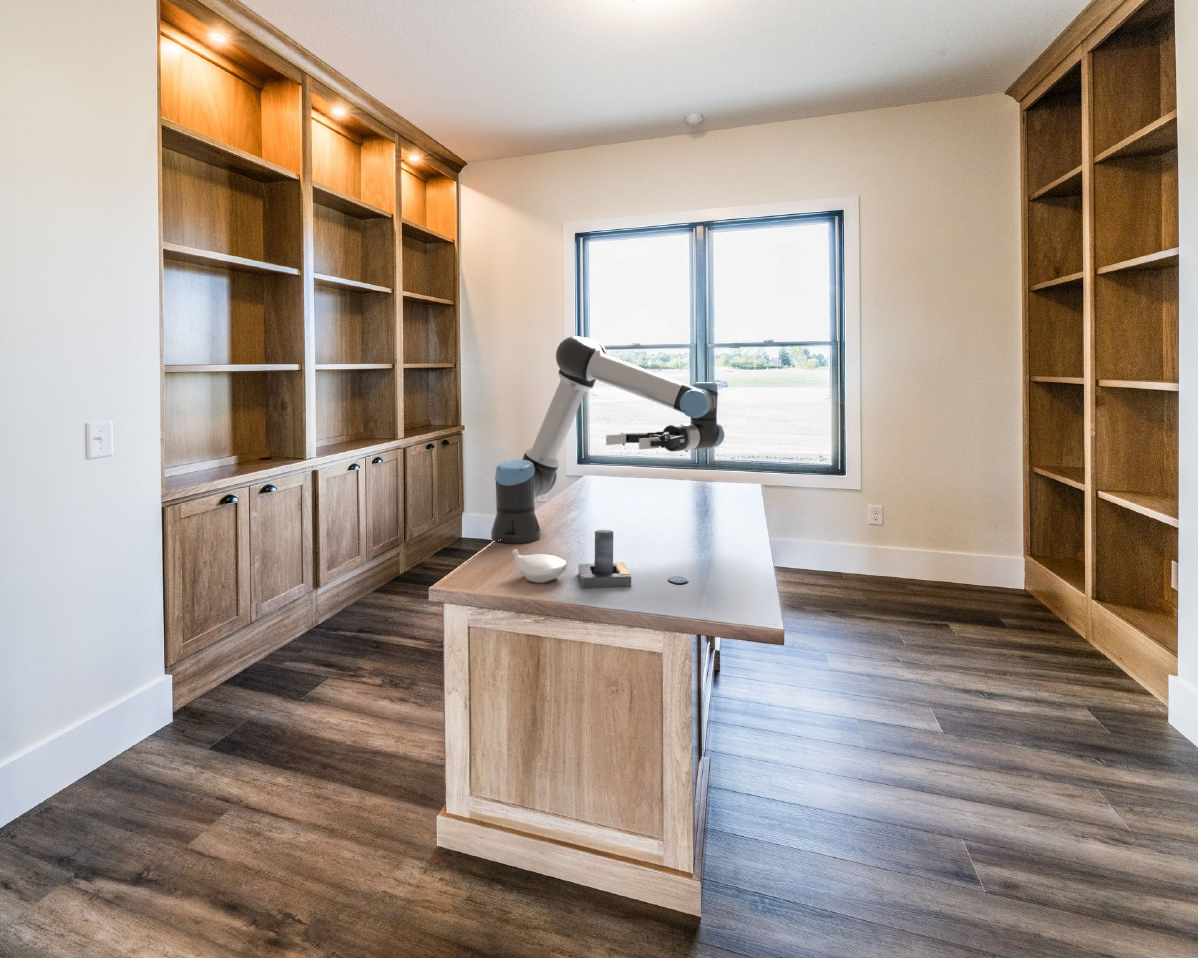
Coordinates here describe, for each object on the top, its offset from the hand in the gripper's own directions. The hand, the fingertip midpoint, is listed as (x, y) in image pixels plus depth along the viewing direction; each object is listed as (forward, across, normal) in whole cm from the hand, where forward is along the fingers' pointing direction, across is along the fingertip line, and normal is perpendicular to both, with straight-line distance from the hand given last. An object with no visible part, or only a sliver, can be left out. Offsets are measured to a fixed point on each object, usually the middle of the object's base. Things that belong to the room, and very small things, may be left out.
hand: (622, 442), depth 171 cm
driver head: (+28, -2, -32) cm, 43 cm away
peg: (+15, -12, -32) cm, 37 cm away
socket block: (+15, -12, -32) cm, 37 cm away
